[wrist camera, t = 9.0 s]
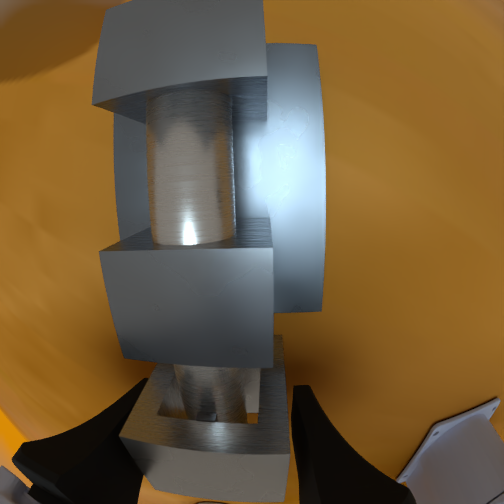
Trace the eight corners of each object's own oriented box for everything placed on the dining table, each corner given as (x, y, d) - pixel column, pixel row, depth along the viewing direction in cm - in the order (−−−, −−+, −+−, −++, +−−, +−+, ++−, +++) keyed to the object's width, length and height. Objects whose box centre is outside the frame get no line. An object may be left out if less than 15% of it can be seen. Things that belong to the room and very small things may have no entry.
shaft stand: (308, 398, 13) (320, 478, 8) (162, 392, 13) (131, 463, 8) (313, 52, 9) (342, -22, 4) (125, 72, 9) (53, 29, 4)
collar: (280, 396, 13) (283, 501, 7) (187, 393, 13) (155, 489, 7) (282, 334, 12) (290, 453, 6) (174, 333, 12) (118, 436, 6)
